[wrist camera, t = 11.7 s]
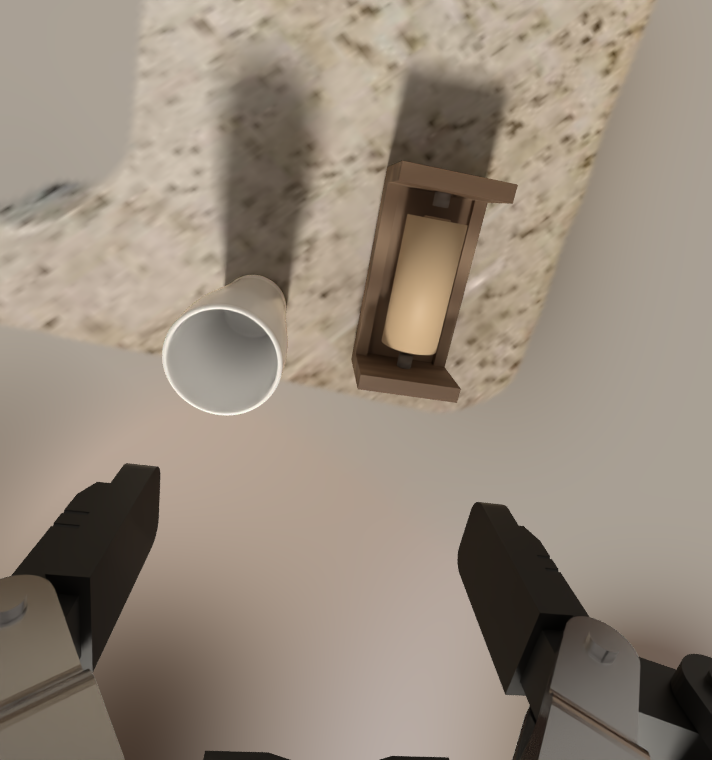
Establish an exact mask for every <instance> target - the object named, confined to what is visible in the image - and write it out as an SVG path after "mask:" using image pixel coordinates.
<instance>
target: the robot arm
mask: <svg viewBox="0 0 712 760" xmlns="http://www.w3.org/2000/svg"><path fill="white" fill-rule="evenodd" d="M159 496H160V469H159V467H156V466H147V465H137V464H128V463H126V464H125V465H123V467H122V468H121V469H120V471H119V472H118V474H117V475H116V476H115V478H114V479H113V481H112V482H111V483H103V482H96V483H95V484H93V485H91V486H90V487H88V488H86V489H85V490H83V491H81V492H80V493H78V494H77V495H76V496H75V497H74V499H73V500H72V501H71V502H70V504H69V505H68V506H67V507H66V508H65V510H64V513H62V514H61V515H60V516H59V517H58V518H57V520H56V521H55V522H54V525H53V526H51V527H50V528H49V530H48V531H47V532H46V533H45V534H44V536H43V537H42V538H41V539H40V541H39V542H38V543H37V545H36V546H35V547H34V548H33V549H32V551H31V552H30V553H29V554H28V556H27V557H26V558H25V559H24V561H23V562H22V563H21V564H20V565H19V567H18V568H17V569H16V571H15V572H14V573H13V574H12V576H9V577H5V578H2V579H0V760H124V757H123V754H122V751H121V748H120V746H119V743H118V740H117V738H116V735H115V732H114V729H113V726H112V724H111V721H110V719H109V716H108V713H107V710H106V707H105V704H104V702H103V699H102V697H101V694H100V691H99V688H98V685H97V683H96V680H95V678H94V675H93V674H92V673H93V671H94V669H95V667H96V665H97V662H98V660H99V658H100V656H101V654H102V652H103V650H104V647H105V645H106V643H107V641H108V639H109V637H110V635H111V633H112V631H113V628H114V626H115V624H116V622H117V620H118V618H119V616H120V614H121V611H122V609H123V607H124V605H125V603H126V601H127V598H128V597H129V594H130V592H131V590H132V588H133V586H134V584H135V582H136V580H137V578H138V575H139V573H140V571H141V569H142V567H143V565H144V563H145V560H146V558H147V556H148V554H149V552H150V550H151V548H152V545H153V543H154V540H155V536H156V532H157V528H158V519H159ZM458 569H459V573H460V576H461V579H462V582H463V584H464V587H465V589H466V592H467V595H468V597H469V600H470V602H471V605H472V608H473V611H474V613H475V616H476V618H477V621H478V623H479V626H480V629H481V631H482V634H483V637H484V639H485V642H486V645H487V647H488V650H489V652H490V655H491V658H492V661H493V663H494V666H495V668H496V671H497V674H498V676H499V679H500V682H501V684H502V686H503V690H504V692H505V694H506V695H523V696H526V697H527V700H528V702H529V704H530V706H529V708H528V710H527V712H526V715H525V717H524V721H523V724H522V728H521V731H520V735H519V738H518V741H517V745H516V748H515V752H514V755H513V759H512V760H712V658H710V657H707V656H704V655H699V654H689V655H687V656H685V657H684V658H683V659H682V661H681V663H680V665H679V666H678V668H677V670H675V669H673V668H670V667H667V666H664V665H661V664H658V663H655V662H652V661H649V660H646V659H643V658H640V657H638V655H637V653H636V651H635V649H634V648H633V646H632V645H631V644H630V643H629V642H628V640H627V639H626V638H625V637H624V636H622V635H621V634H620V633H619V632H618V631H617V630H615V629H614V628H612V627H611V626H609V625H607V624H606V623H604V622H601V621H599V620H597V619H594V618H591V617H589V616H588V614H587V612H586V611H585V609H584V608H583V606H582V605H581V604H580V602H579V600H578V599H577V597H576V596H575V594H574V592H573V591H572V590H571V588H570V586H569V585H568V583H567V582H566V580H565V579H564V577H563V576H562V574H561V572H558V568H557V567H556V565H555V563H554V562H553V561H552V559H550V556H549V554H548V553H547V551H546V549H545V548H544V546H543V545H542V543H541V542H540V540H538V539H537V538H536V537H535V536H534V535H533V534H532V533H531V532H529V531H528V530H527V529H526V528H525V527H524V526H518V524H517V522H516V521H515V519H514V518H513V516H512V514H511V513H510V511H509V509H508V508H507V507H506V506H505V505H500V504H491V503H482V502H476V503H475V504H474V505H473V507H472V509H471V512H470V515H469V518H468V521H467V524H466V527H465V531H464V534H463V537H462V540H461V543H460V546H459V550H458ZM203 760H289V759H286V758H283V757H280V756H277V755H274V754H271V753H265V752H264V753H263V752H229V751H205V754H204V759H203ZM380 760H449V758H445V757H409V756H408V757H407V756H391V757H387V758H384V759H380Z"/></svg>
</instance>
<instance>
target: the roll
mask: <svg viewBox="0 0 712 760" xmlns="http://www.w3.org/2000/svg"><path fill="white" fill-rule="evenodd" d="M467 227H468V225H463V224H457V223H452V222H451V220H448V219H443V218H437V217H432V216H427V215H425V217H421V216H415V215H410V214H407V219H406V224H405V228H404V233H403V238H402V243H401V248H400V253H399V258H398V263H397V268H396V272H395V277H394V282H393V287H392V292H391V297H390V302H389V307H388V312H387V316H386V321H385V326H384V331H383V336H382V342H383V343H384V344H385V345H387V346H388V347H391V348H393V349H396V350H399V351H402V352H406V353H411V354H417V355H431V354H435V353H436V351H437V347H438V343H439V339H440V335H441V331H442V327H443V323H444V319H445V315H446V311H447V307H448V303H449V299H450V295H451V291H452V287H453V283H454V279H455V275H456V271H457V267H458V263H459V259H460V255H461V251H462V247H463V243H464V239H465V235H466V231H467Z"/></svg>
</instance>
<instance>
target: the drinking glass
mask: <svg viewBox="0 0 712 760" xmlns="http://www.w3.org/2000/svg"><path fill="white" fill-rule="evenodd" d="M287 349H288V335H287V325H286V301H285V297H284V295H283V293H282V291H281V290H280V288H279V287H278V286H277V285H276V284H275V283H274V282H273V281H271V280H270V279H268V278H266V277H263V276H259V275H245V276H242V277H239V278H237V279H236V280H234V281H233V282H232V283H230V284H228V285H226V286H224V287H221V288H219V289H217V290H214V291H212V292H210V293H208V294H206V295H205V296H203V297H201V298H200V299H198V300H197V301H195V302H194V303H193V304H192V305H191V306H190V307H188V308H187V309H186V310H185V311H184V312H183V313H182V314H181V316H180V317H179V318H178V319H177V320H176V321H175V322H174V323H173V325H172V326H171V328H170V329H169V331H168V333H167V335H166V337H165V340H164V344H163V349H162V361H163V367H164V371H165V374H166V376H167V379H168V381H169V383H170V384H171V386H172V387H173V389H174V390H175V391H176V392H177V394H178V395H179V396H180V397H181V398H182V399H184V400H185V401H186V402H187V403H189V404H190V405H192V406H194V407H195V408H197V409H200V410H202V411H205V412H208V413H211V414H217V415H237V414H242V413H245V412H248V411H251V410H253V409H255V408H257V407H258V406H260V405H262V404H263V403H264V402H265V401H266V400H267V399H268V398H269V397H270V396H271V395H272V394H273V392H274V391H275V389H276V388H277V386H278V384H279V381H280V378H281V375H282V373H283V369H284V366H285V362H286V357H287Z"/></svg>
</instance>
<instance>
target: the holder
mask: <svg viewBox="0 0 712 760" xmlns="http://www.w3.org/2000/svg"><path fill="white" fill-rule="evenodd" d="M517 186H518V185H517V184H512V183H507V182H502V181H498V180H493V179H488V178H483V177H478V176H474V175H469V174H464V173H459V172H455V171H450V170H445V169H440V168H435V167H431V166H426V165H421V164H416V163H412V162H407V161H401V162H398V163H396V164H394V165H391V166H389V167H387V172H386V177H385V183H384V188H383V193H382V199H381V204H380V210H379V215H378V220H377V226H376V231H375V236H374V242H373V247H372V252H371V258H370V263H369V269H368V274H367V279H366V285H365V290H364V295H363V301H362V306H361V311H360V317H359V322H358V328H357V333H356V338H355V344H354V349H353V354H352V364H353V369H354V373H355V378H356V383H357V387H358V389H361V390H368V391H375V392H383V393H390V394H397V395H404V396H412V397H419V398H426V399H433V400H441V401H448V402H455V403H457V400H458V397H459V393H460V390H461V389H460V387H459V386H458V385H457V383H456V382H455V381H454V379H453V378H452V377H451V375H450V374H449V373H448V371H447V370H446V369H445V363H446V359H447V356H448V352H449V348H450V344H451V340H452V336H453V333H454V329H455V325H456V321H457V317H458V314H459V310H460V306H461V302H462V298H463V295H464V291H465V287H466V283H467V279H468V275H469V272H470V268H471V264H472V260H473V256H474V253H475V249H476V245H477V241H478V237H479V233H480V230H481V226H482V222H483V218H484V214H485V211H486V207H487V203H511V204H513V200H514V197H515V193H516V189H517ZM407 214H410V215H415V216H421V217H425V215H427V216H432V217H437V218H443V219H448V220H451V222H452V223H457V224H463V225H468V227H467V231H466V235H465V239H464V243H463V247H462V251H461V255H460V259H459V263H458V267H457V271H456V275H455V279H454V283H453V287H452V291H451V295H450V299H449V303H448V307H447V311H446V315H445V319H444V323H443V327H442V331H441V335H440V339H439V343H438V347H437V351H436V353H435V354H431V355H417V354H411V353H406V352H402V351H399V350H396V349H393V348H391V347H388V346H387V345H385V344H384V343H383V342H382V336H383V331H384V326H385V321H386V316H387V312H388V307H389V302H390V297H391V292H392V287H393V282H394V277H395V272H396V268H397V263H398V258H399V253H400V248H401V243H402V238H403V233H404V228H405V224H406V219H407Z"/></svg>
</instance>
